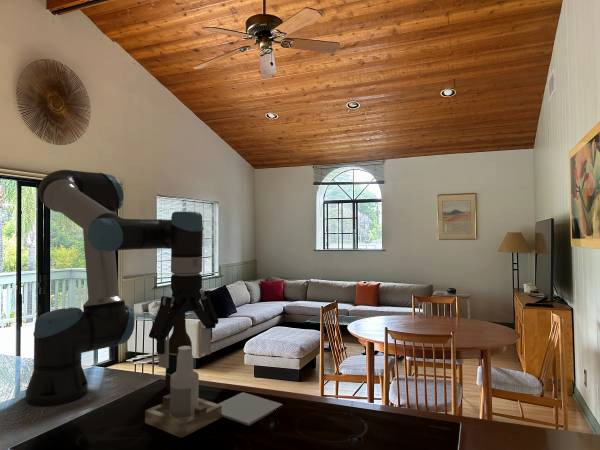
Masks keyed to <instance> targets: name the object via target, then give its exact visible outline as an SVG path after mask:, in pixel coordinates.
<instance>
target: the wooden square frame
mask: <svg viewBox="0 0 600 450" xmlns="http://www.w3.org/2000/svg"><path fill="white" fill-rule="evenodd" d="M218 404H219V403H215V402H212V401H209V400H206V399H203V398H200V397H198V407H196V408H195V415H193V416H191V417H189V418H187V419H185V420H183V421H182V420H179V419H177V418H174V417H171V416H170V393H168V394H166V395H164V396H162V403H160V404H158V405H155V406H152V407H150V408H148V409H146V410H144V423H145V424H146V425H149V426H152V427H154V428H157V429H159V430H162V431H163V432H166V433H169V434H172V435H173V436H176V437H179V438H181V439H182V438H185V437H186V436H188V435H190V434H192V433H194V432H196V431H198V430H200V429H202V428H205V427H206V426H208V425H209V424H211V423H213V422H216V421H218V420H220V419H221V418H223V417H222V406H221V405H218Z"/></svg>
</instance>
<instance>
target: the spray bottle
mask: <svg viewBox="0 0 600 450" xmlns="http://www.w3.org/2000/svg"><path fill="white" fill-rule="evenodd" d="M199 377H200V376H199V373H198V372H197V371H195V370H194V356H193V347H192V348H191V347H190V346H181V347H179V348H178V356H177V366H176V372H175V373H173V374H172V375H171V378H170V390H169V394H170V415H169V416H171V417H174V418H177V419H179V420H182V421H183V420H185V419H187V418H189V417H191V416H193V415H195V408H196V407H198V398H199V385H200V384H199Z"/></svg>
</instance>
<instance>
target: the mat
mask: <svg viewBox="0 0 600 450" xmlns="http://www.w3.org/2000/svg"><path fill="white" fill-rule="evenodd" d="M217 404H218V405H221V406H222V417H221V418H225V419H228V420H231V421H234V422H237V423H240V424H243V425H245V426H251V425H253V424H254V423H256V422H257V421H260V420H261V419H264V418H265V417H267V416H269V415H270V414H271V413H274V412H275V411H277V410H278V409H277V408H279V407H280V406H282V407H283V403H280V402H277V401H274V400H271V399H267V398H263V397H260V396H257V395H253V394H250V393H246V392H244V391H243V392H240V393H238V394H236V395H234V396H232V397H230V398H228V399H225V400H223V401H221V402H219V403H217ZM280 408H281V407H280ZM280 408H279V409H280ZM276 409H277V410H276ZM274 410H275V411H274ZM273 411H274V412H273Z"/></svg>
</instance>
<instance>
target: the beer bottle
mask: <svg viewBox="0 0 600 450" xmlns="http://www.w3.org/2000/svg"><path fill="white" fill-rule="evenodd" d="M168 340H169V368H165V381H164V382H165V389H166V391H167V390H168V391H170V378H171V375H172V374H173V373H175V372H176V366H177V356H178V348H179V347H181V346H190V347H191V348H192V349H193V346H192V339H191V337H190V335H189V333H188V332H187V325H186V313H182V315H181V316H179V317H178V319H177V321H176V322H175V324H174V326H173V328H172V333H171V335H170V336H169V338H168Z"/></svg>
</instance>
